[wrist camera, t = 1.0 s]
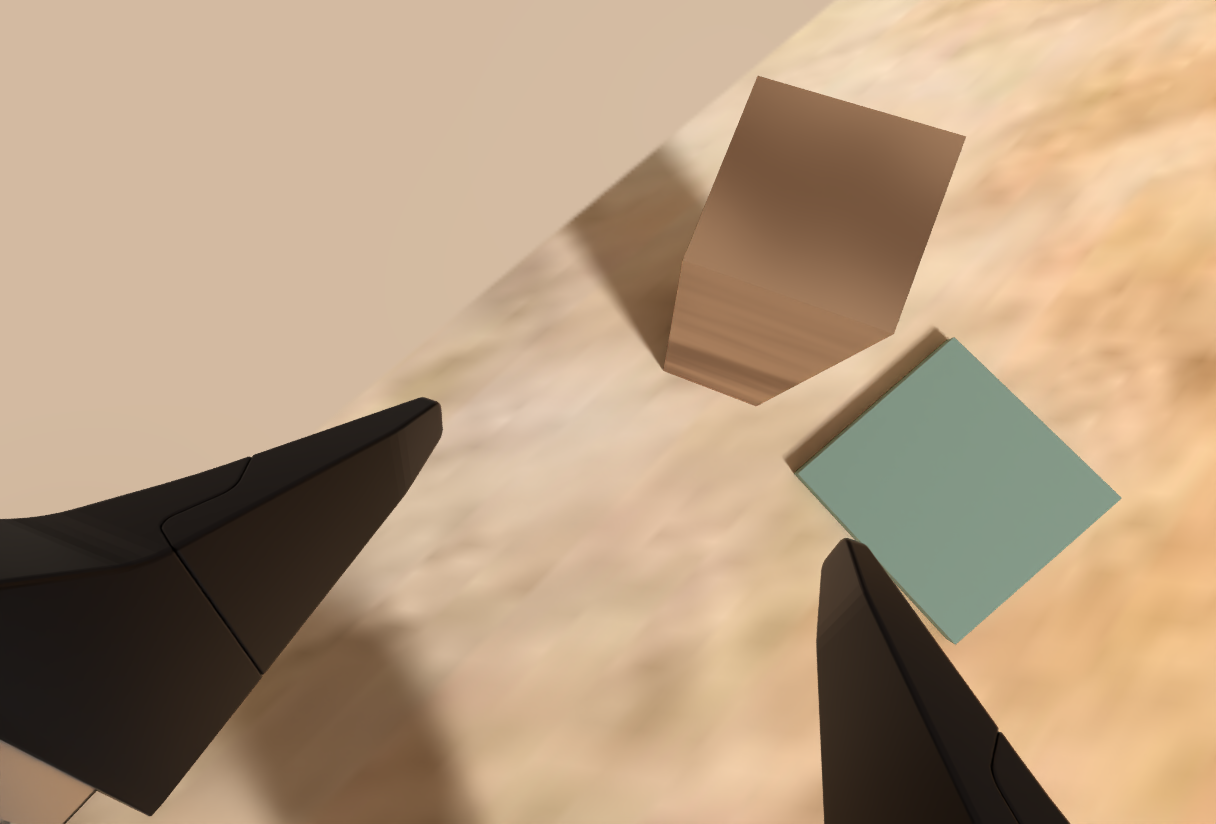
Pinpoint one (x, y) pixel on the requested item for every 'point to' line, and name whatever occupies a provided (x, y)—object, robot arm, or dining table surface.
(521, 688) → the dining table surface
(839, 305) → the letter block
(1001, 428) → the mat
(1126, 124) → the dining table surface
